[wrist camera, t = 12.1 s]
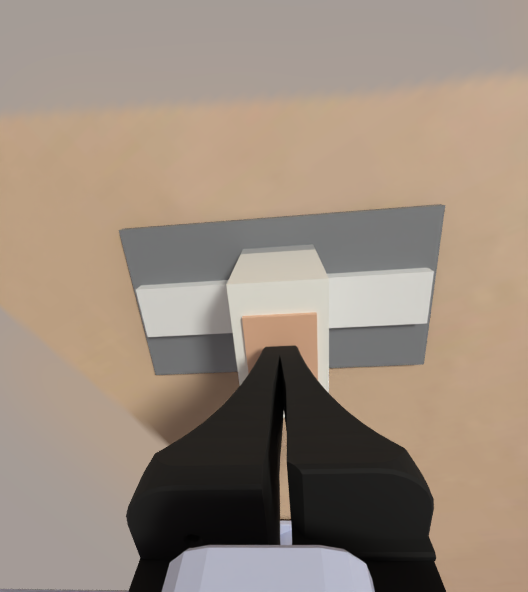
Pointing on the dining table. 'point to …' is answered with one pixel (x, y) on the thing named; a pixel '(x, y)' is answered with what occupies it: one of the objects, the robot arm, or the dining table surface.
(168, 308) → the din rail
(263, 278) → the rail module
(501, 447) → the dining table surface
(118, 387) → the dining table surface
